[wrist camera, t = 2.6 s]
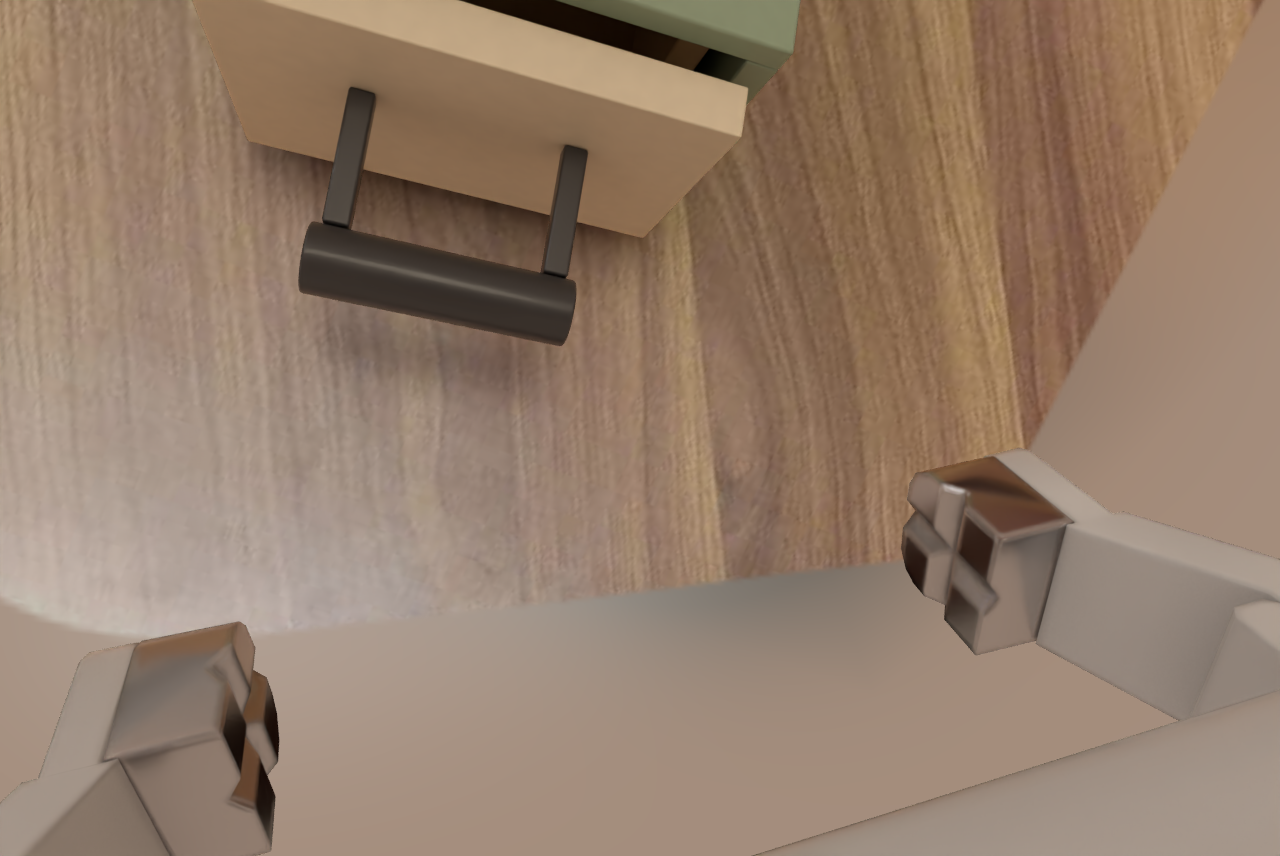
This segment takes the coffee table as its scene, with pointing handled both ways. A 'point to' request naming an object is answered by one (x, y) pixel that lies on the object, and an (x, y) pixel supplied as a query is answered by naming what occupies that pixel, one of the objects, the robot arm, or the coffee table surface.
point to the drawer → (473, 134)
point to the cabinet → (718, 32)
